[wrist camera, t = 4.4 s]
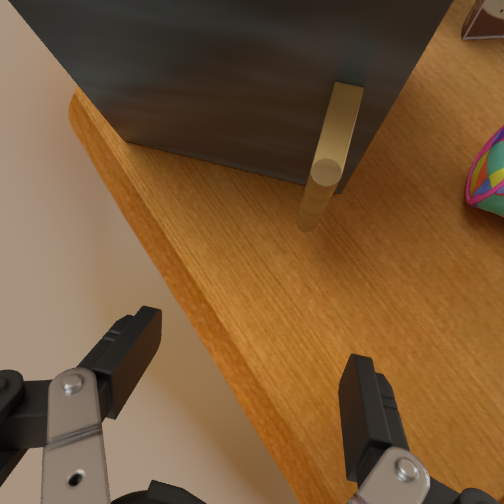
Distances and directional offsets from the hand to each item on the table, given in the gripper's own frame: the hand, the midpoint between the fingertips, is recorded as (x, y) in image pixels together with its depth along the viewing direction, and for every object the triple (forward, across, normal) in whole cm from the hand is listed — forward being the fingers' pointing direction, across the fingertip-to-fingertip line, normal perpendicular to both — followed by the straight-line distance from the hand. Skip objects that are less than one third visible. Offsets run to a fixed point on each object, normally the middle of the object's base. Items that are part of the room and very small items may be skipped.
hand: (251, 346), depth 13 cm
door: (+24, -7, -1) cm, 25 cm away
